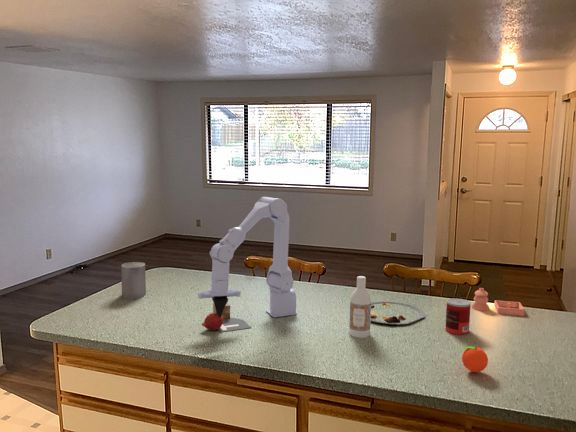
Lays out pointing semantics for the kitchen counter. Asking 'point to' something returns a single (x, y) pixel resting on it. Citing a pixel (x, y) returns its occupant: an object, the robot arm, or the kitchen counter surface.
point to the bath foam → (360, 310)
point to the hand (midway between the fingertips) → (218, 317)
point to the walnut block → (224, 311)
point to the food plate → (394, 319)
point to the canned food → (457, 316)
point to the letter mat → (233, 325)
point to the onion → (213, 321)
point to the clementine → (474, 359)
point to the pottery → (496, 304)
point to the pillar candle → (133, 280)
